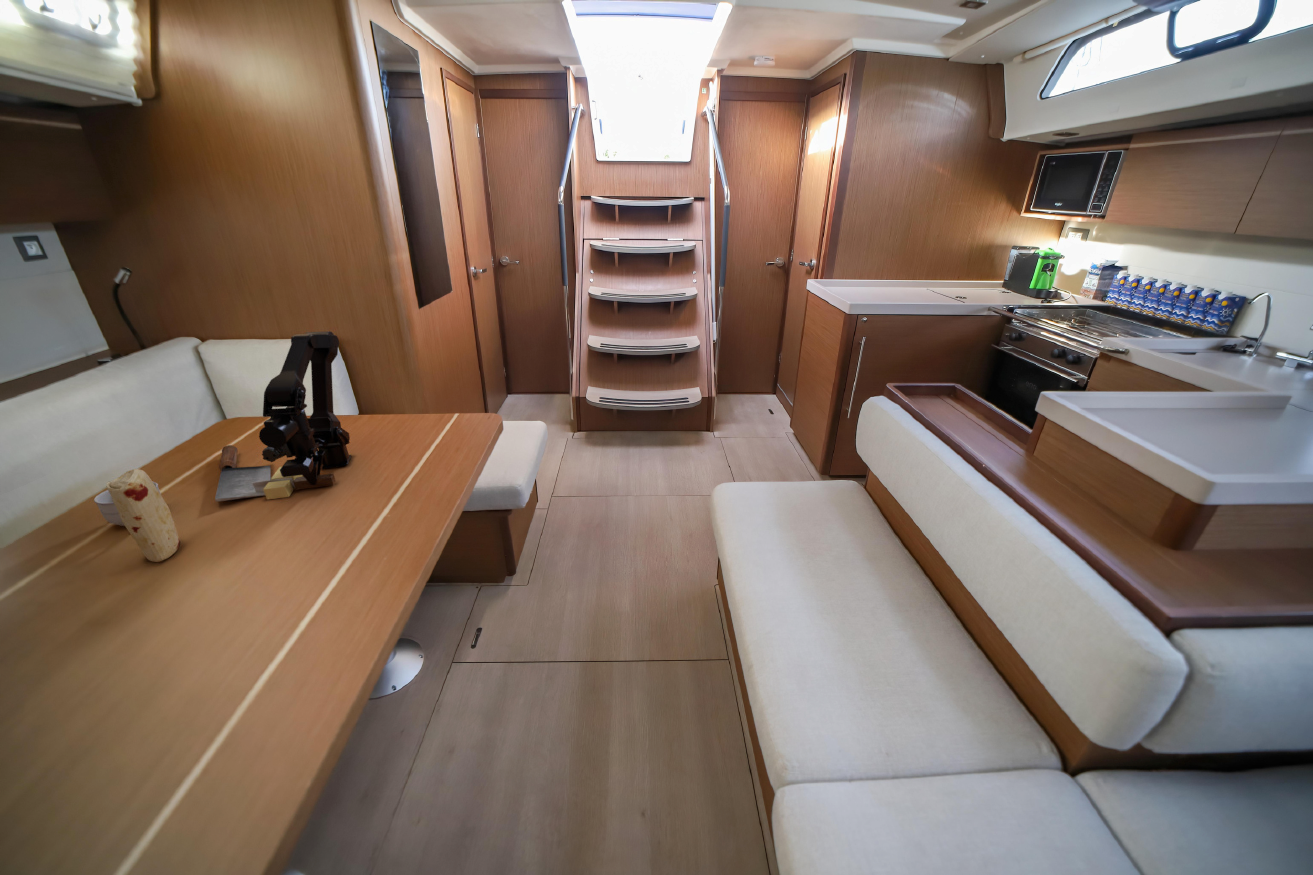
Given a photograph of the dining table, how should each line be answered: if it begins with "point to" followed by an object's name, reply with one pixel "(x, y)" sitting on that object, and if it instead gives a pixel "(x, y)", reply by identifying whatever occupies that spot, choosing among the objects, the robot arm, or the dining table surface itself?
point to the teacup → (110, 507)
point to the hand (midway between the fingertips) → (315, 482)
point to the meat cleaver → (238, 477)
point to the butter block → (279, 476)
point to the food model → (145, 514)
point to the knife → (299, 482)
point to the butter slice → (278, 489)
